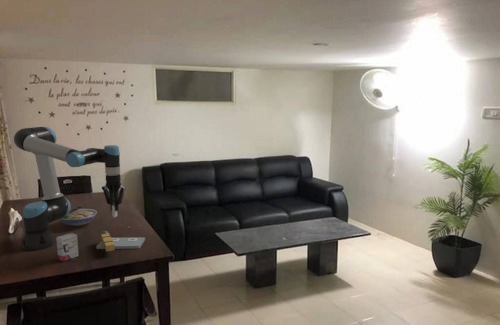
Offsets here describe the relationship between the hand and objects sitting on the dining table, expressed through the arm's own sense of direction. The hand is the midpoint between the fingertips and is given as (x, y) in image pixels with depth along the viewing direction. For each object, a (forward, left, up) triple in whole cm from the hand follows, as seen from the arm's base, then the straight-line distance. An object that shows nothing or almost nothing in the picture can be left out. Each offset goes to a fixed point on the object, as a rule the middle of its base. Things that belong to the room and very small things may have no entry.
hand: (114, 216), depth 210 cm
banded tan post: (-3, -5, -14) cm, 16 cm away
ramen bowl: (-35, +36, -17) cm, 53 cm away
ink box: (-19, -17, -17) cm, 31 cm away
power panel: (+2, +1, -17) cm, 17 cm away
